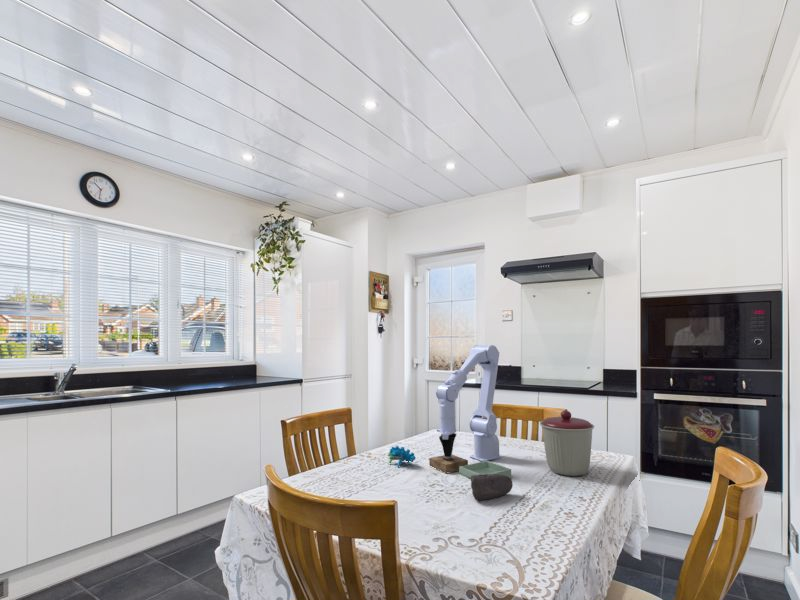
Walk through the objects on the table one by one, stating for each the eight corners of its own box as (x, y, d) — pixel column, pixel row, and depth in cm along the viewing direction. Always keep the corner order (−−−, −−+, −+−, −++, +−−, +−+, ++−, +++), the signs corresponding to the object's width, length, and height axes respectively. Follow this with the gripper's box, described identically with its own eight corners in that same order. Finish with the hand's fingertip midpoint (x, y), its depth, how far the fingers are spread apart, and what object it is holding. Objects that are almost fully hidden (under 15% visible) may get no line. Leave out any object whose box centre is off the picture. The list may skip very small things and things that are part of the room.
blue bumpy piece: (420, 459, 164) (407, 444, 159) (416, 474, 160) (403, 458, 155) (396, 459, 170) (383, 444, 165) (391, 473, 166) (378, 458, 161)
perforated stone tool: (508, 491, 135) (507, 468, 135) (518, 497, 130) (517, 473, 130) (465, 497, 130) (464, 473, 130) (473, 504, 125) (473, 479, 125)
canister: (536, 475, 149) (534, 413, 150) (545, 461, 165) (543, 405, 166) (594, 483, 140) (591, 417, 142) (598, 468, 156) (595, 408, 158)
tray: (487, 467, 158) (487, 460, 158) (511, 476, 148) (511, 469, 148) (459, 474, 151) (459, 466, 152) (482, 484, 141) (482, 476, 141)
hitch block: (450, 461, 166) (450, 453, 166) (468, 468, 157) (467, 460, 158) (429, 466, 161) (429, 458, 161) (445, 473, 152) (445, 464, 152)
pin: (449, 466, 161) (448, 443, 161) (453, 467, 159) (453, 445, 159) (443, 467, 159) (443, 444, 160) (447, 469, 157) (447, 446, 158)
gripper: (439, 413, 168) (440, 449, 167) (433, 420, 154) (434, 460, 153) (457, 414, 167) (458, 450, 166) (453, 421, 153) (454, 461, 152)
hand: (448, 455), depth 159 cm, fingers closed on pin, 3 cm apart
